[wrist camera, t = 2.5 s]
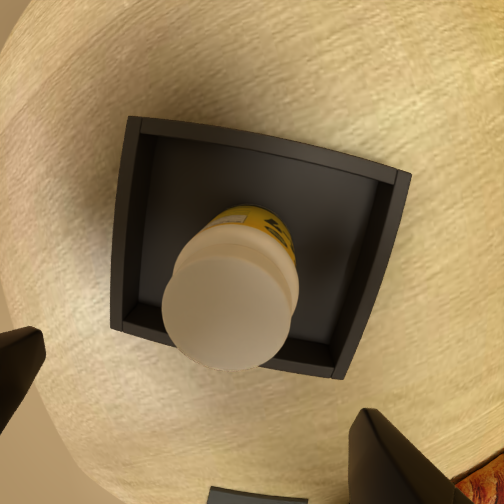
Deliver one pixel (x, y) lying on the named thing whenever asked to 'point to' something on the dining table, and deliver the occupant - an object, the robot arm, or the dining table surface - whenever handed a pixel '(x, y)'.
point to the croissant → (485, 483)
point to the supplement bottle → (233, 290)
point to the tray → (266, 195)
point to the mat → (247, 498)
